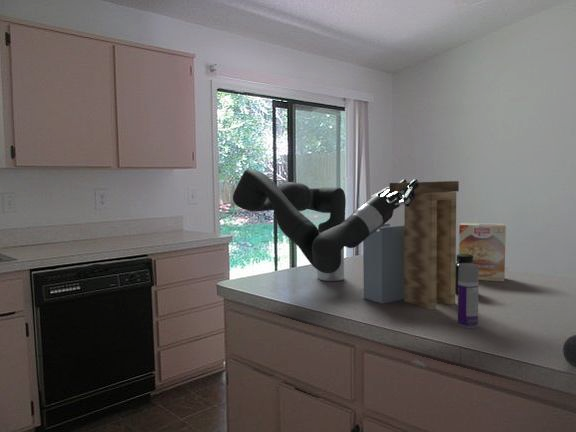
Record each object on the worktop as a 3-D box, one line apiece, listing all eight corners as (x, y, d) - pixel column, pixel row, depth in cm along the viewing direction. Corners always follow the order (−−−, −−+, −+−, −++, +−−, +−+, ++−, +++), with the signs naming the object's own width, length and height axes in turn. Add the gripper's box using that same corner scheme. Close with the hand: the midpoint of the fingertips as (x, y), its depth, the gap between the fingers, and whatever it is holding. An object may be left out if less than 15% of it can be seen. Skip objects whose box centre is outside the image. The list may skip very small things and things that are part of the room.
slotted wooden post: (404, 301, 134) (404, 192, 131) (428, 296, 139) (428, 191, 136) (431, 309, 125) (431, 193, 123) (455, 303, 130) (456, 192, 128)
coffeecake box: (458, 279, 161) (458, 224, 160) (458, 275, 168) (459, 222, 166) (505, 282, 156) (506, 225, 154) (503, 277, 162) (504, 223, 161)
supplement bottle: (475, 291, 144) (476, 253, 143) (477, 296, 137) (477, 257, 136) (452, 289, 146) (453, 253, 145) (453, 295, 140) (453, 256, 139)
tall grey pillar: (363, 297, 139) (363, 225, 137) (387, 293, 144) (387, 223, 142) (381, 303, 132) (381, 227, 130) (406, 298, 137) (406, 225, 135)
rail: (389, 194, 124) (389, 182, 123) (448, 191, 136) (448, 181, 136) (398, 194, 121) (398, 182, 120) (458, 191, 133) (458, 181, 133)
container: (454, 322, 114) (454, 263, 113) (472, 321, 114) (473, 262, 113) (462, 328, 109) (463, 266, 108) (481, 327, 110) (482, 266, 108)
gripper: (358, 226, 126) (397, 193, 133) (395, 230, 113) (436, 194, 120) (347, 203, 123) (388, 171, 130) (384, 205, 111) (426, 169, 118)
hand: (411, 182), depth 125 cm, fingers closed on rail, 3 cm apart
